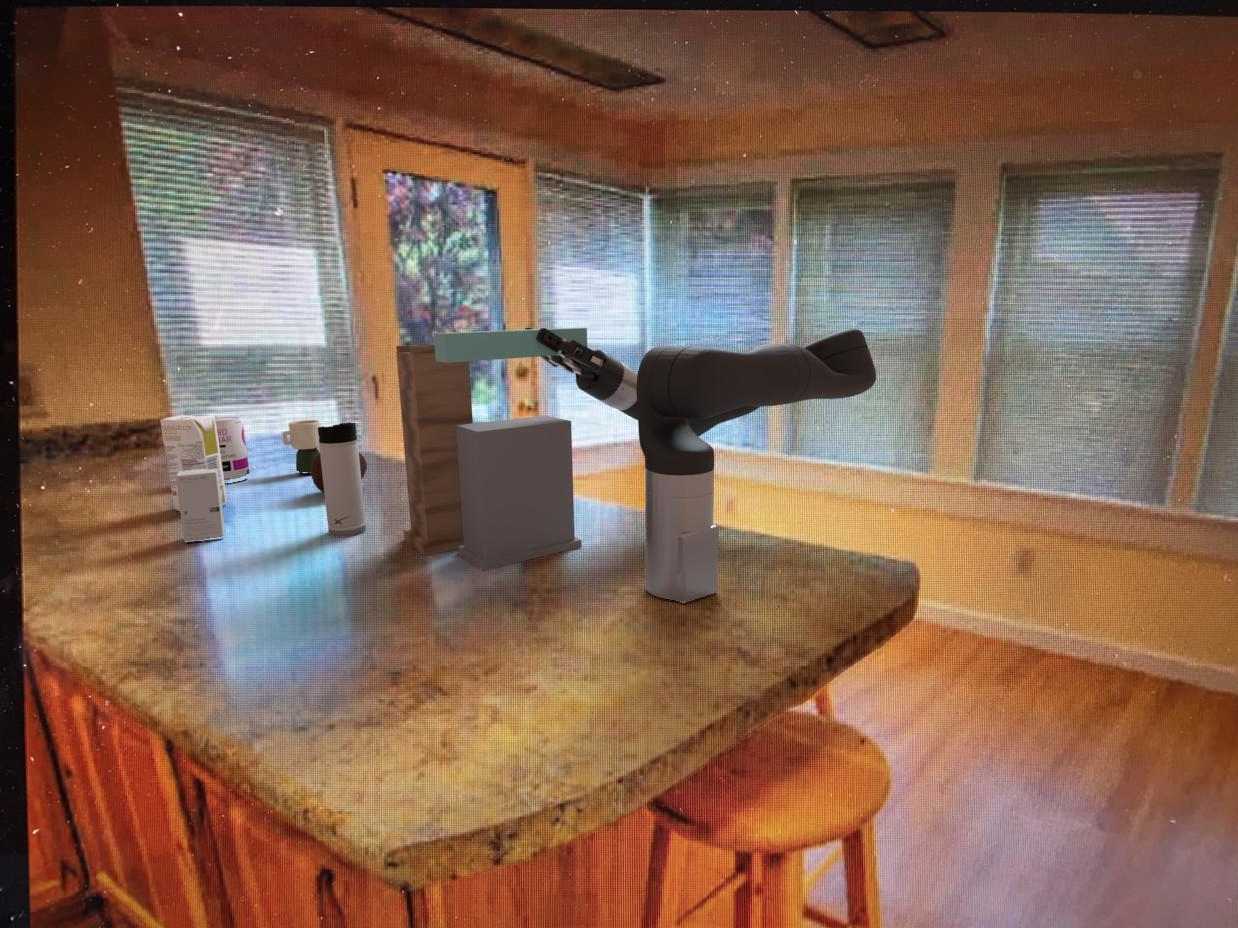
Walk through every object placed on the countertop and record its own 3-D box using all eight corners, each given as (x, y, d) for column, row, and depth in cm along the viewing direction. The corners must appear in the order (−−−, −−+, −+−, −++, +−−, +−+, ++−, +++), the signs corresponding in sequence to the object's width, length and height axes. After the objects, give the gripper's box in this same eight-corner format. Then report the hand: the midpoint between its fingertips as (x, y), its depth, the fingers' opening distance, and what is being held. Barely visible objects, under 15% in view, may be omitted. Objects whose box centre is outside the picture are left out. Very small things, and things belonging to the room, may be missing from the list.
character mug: (326, 467, 174) (320, 418, 171) (337, 471, 169) (332, 420, 167) (282, 474, 167) (275, 423, 164) (293, 479, 162) (286, 426, 159)
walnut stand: (488, 542, 114) (476, 345, 107) (424, 555, 108) (408, 347, 101) (464, 528, 122) (452, 343, 115) (404, 540, 116) (387, 346, 109)
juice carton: (206, 514, 133) (192, 419, 129) (168, 513, 134) (152, 419, 130) (233, 504, 140) (220, 414, 136) (196, 503, 141) (183, 413, 137)
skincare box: (184, 544, 115) (173, 475, 112) (187, 537, 119) (176, 470, 116) (225, 539, 118) (215, 471, 115) (227, 532, 122) (217, 466, 119)
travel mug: (342, 539, 116) (330, 425, 112) (322, 533, 120) (309, 422, 116) (374, 530, 121) (363, 421, 117) (353, 524, 125) (342, 418, 121)
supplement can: (246, 475, 167) (237, 415, 164) (253, 480, 161) (245, 418, 158) (208, 480, 162) (199, 418, 159) (214, 486, 156) (205, 422, 153)
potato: (379, 486, 153) (374, 442, 151) (348, 502, 141) (343, 453, 139) (334, 485, 155) (329, 441, 153) (299, 500, 142) (293, 452, 140)
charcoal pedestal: (581, 546, 111) (578, 421, 106) (482, 570, 101) (474, 433, 96) (552, 532, 119) (547, 414, 114) (457, 553, 109) (449, 425, 104)
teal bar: (587, 353, 108) (586, 328, 107) (447, 362, 94) (444, 333, 93) (573, 352, 111) (572, 327, 110) (435, 361, 97) (433, 333, 96)
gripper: (627, 405, 108) (546, 357, 98) (577, 397, 119) (500, 353, 109) (644, 363, 109) (565, 310, 98) (593, 359, 120) (518, 311, 109)
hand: (531, 333), depth 104 cm, fingers closed on teal bar, 4 cm apart
